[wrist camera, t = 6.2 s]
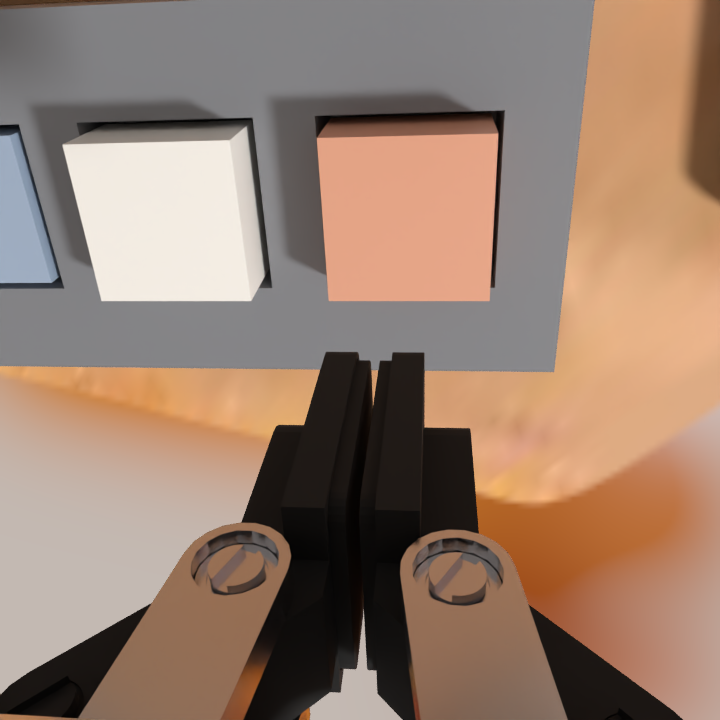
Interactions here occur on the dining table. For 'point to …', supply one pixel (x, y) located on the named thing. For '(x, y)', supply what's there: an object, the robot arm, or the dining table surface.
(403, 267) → the terracotta key
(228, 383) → the dining table surface
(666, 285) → the dining table surface
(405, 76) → the key panel
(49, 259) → the slate blue key
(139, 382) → the dining table surface
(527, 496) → the dining table surface
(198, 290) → the off white key
